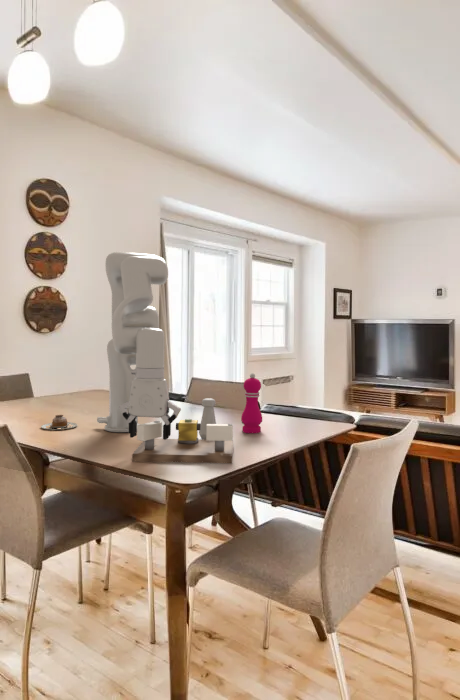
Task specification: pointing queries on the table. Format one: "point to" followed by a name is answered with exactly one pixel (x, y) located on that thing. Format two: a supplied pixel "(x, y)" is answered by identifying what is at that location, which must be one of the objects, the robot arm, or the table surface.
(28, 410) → the table surface
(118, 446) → the table surface
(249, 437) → the table surface
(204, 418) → the salt shaker
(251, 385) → the pepper mill
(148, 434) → the knob left
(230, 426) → the knob right
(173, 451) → the level base
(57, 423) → the pastry
